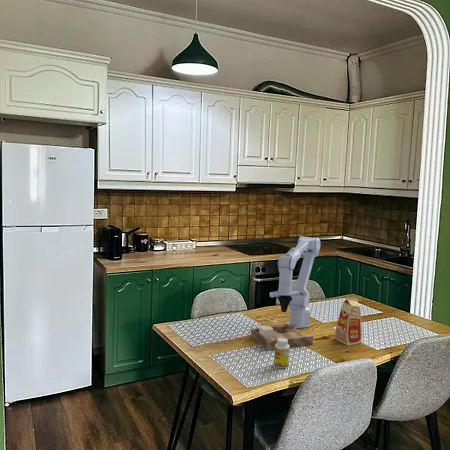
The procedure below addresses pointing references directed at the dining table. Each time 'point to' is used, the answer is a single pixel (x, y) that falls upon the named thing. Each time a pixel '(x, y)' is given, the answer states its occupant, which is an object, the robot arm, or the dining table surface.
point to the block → (266, 332)
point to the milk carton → (349, 323)
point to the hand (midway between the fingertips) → (283, 311)
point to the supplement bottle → (281, 353)
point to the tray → (282, 332)
